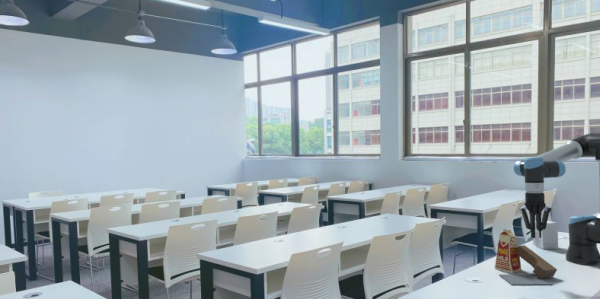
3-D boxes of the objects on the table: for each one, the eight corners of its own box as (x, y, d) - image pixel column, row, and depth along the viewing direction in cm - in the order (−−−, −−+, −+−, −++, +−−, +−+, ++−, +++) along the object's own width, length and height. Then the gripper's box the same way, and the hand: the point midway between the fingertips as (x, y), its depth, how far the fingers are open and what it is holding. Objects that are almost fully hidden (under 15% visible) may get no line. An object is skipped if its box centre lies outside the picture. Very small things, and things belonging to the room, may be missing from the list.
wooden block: (545, 270, 185) (512, 245, 199) (540, 278, 186) (508, 253, 201) (557, 269, 189) (524, 244, 203) (553, 277, 190) (520, 252, 205)
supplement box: (559, 249, 240) (558, 222, 240) (543, 249, 240) (542, 223, 240) (549, 245, 249) (548, 220, 249) (534, 246, 249) (533, 220, 249)
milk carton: (512, 272, 199) (510, 230, 199) (493, 268, 206) (492, 227, 206) (522, 269, 204) (521, 228, 204) (504, 265, 211) (502, 225, 211)
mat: (537, 275, 194) (537, 274, 194) (552, 285, 180) (552, 283, 180) (499, 275, 195) (499, 274, 195) (511, 285, 181) (511, 284, 181)
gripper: (522, 193, 184) (524, 247, 184) (554, 192, 183) (556, 247, 183) (515, 191, 191) (517, 243, 191) (545, 190, 190) (547, 243, 190)
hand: (536, 245), depth 187 cm, fingers closed
